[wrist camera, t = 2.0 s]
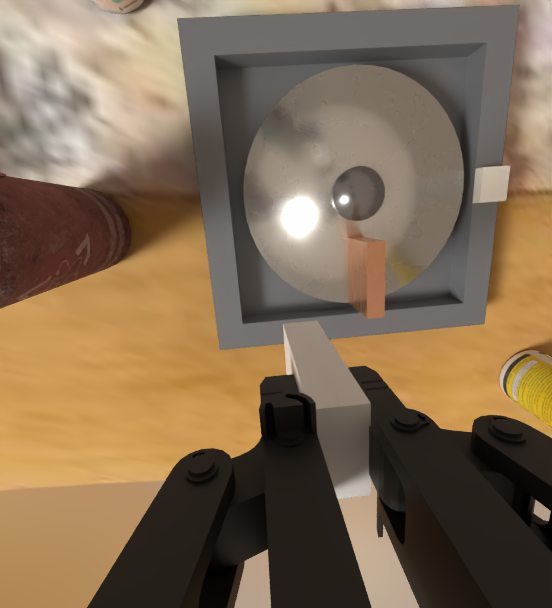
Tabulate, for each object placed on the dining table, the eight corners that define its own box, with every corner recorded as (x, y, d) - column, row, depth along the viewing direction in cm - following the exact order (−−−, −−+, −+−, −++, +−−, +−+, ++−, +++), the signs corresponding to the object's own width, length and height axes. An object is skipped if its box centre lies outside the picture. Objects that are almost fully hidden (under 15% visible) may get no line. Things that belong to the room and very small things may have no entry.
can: (137, 195, 25) (5, 173, 11) (129, 275, 26) (4, 337, 13) (53, 177, 24) (-193, 130, 11) (50, 260, 26) (-169, 310, 12)
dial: (232, 83, 22) (227, 37, 17) (455, 71, 23) (523, 24, 17) (253, 304, 27) (255, 329, 21) (440, 287, 28) (491, 307, 22)
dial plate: (186, 43, 23) (174, 10, 19) (486, 30, 24) (530, -4, 20) (222, 336, 28) (218, 354, 25) (461, 313, 30) (491, 327, 26)
